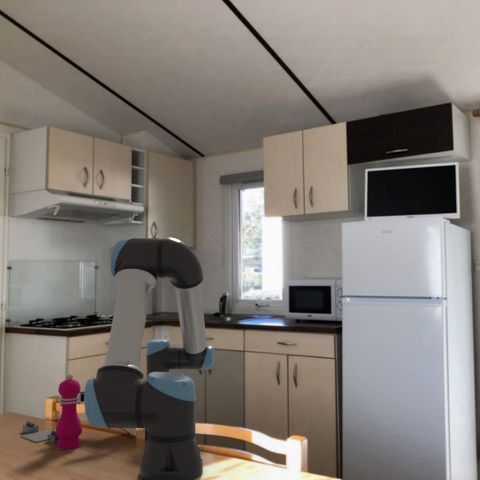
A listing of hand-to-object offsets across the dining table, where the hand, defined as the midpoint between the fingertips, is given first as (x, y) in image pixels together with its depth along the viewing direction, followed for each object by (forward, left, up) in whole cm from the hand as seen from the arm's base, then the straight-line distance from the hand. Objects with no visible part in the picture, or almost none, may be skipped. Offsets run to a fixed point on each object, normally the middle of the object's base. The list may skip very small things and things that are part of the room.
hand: (72, 405), depth 158 cm
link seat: (+14, +1, -11) cm, 18 cm away
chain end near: (+6, +1, -11) cm, 13 cm away
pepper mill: (-1, +1, -11) cm, 11 cm away
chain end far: (+21, +1, -11) cm, 24 cm away
